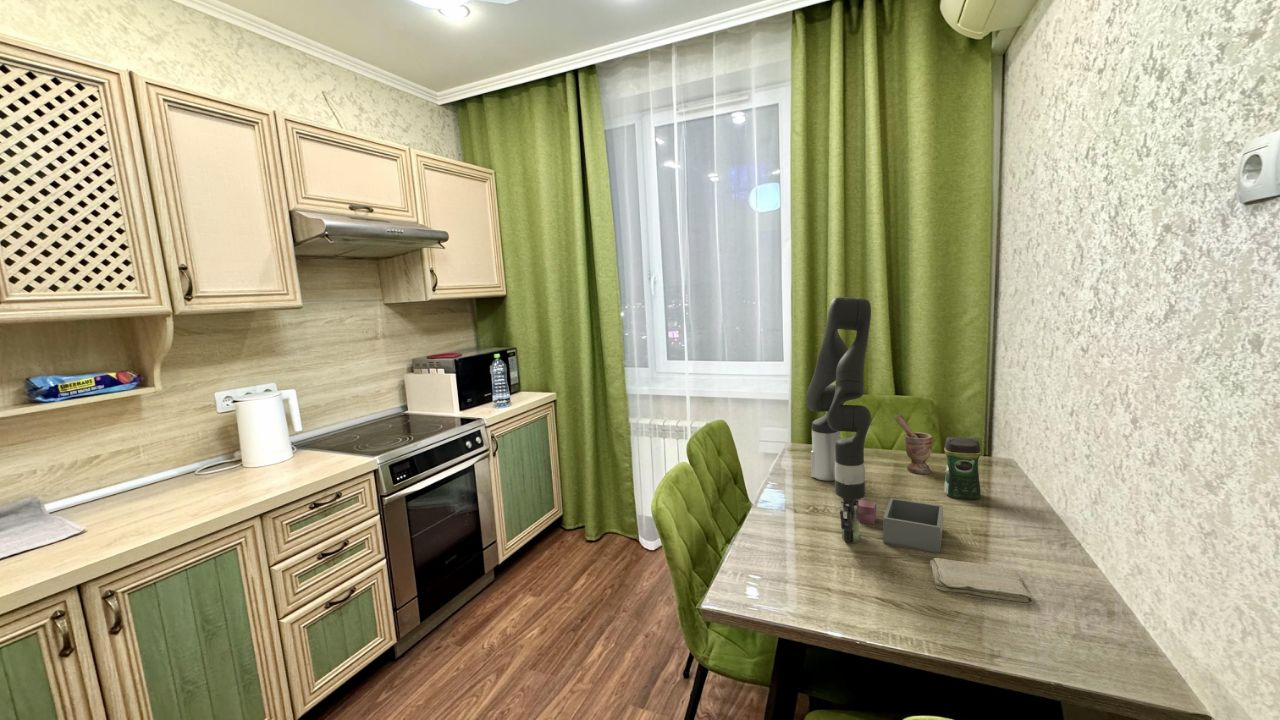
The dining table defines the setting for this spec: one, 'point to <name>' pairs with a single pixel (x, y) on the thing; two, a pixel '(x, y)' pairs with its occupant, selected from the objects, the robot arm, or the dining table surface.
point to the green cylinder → (854, 531)
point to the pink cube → (867, 512)
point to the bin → (913, 525)
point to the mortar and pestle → (916, 447)
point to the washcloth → (979, 581)
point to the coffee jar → (962, 468)
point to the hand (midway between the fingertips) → (850, 537)
